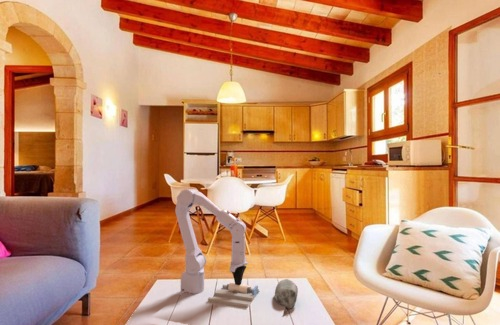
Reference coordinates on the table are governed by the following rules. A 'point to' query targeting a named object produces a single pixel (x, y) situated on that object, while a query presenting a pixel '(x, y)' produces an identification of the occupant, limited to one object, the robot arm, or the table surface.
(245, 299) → the beige mounting plate
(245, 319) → the table surface
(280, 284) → the mottled grey stone
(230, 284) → the cream cylinder
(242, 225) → the robot arm
